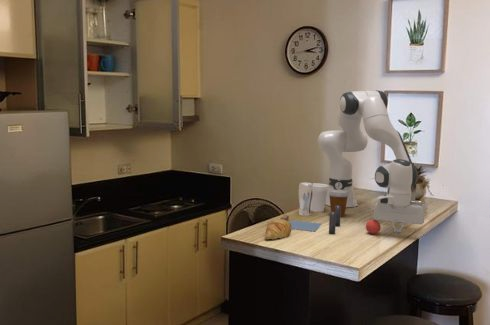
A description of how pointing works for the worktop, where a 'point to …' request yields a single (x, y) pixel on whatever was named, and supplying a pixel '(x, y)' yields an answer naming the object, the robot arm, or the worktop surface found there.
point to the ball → (373, 226)
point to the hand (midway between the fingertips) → (397, 232)
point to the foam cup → (319, 197)
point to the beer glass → (305, 198)
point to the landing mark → (304, 225)
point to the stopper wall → (285, 217)
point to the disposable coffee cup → (338, 200)
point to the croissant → (277, 229)
